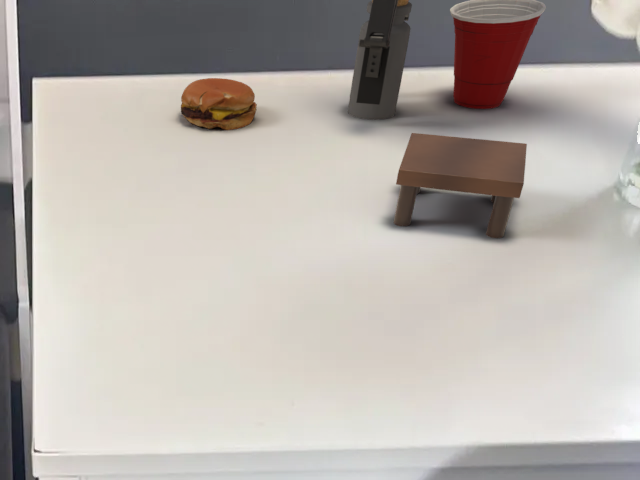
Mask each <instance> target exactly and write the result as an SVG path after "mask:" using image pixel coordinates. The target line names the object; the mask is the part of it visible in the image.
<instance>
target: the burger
mask: <svg viewBox="0 0 640 480" xmlns="http://www.w3.org/2000/svg"><path fill="white" fill-rule="evenodd" d="M255 98H256V95H255V92H254V91H253V89H252V88H251V87H250V86H249V85H248V84H246V83H244V82H242V81H238V80H234V79H229V78H221V77H219V78H218V77H209V78H201V79H196V80H194V81H192V82H190V83H189V84H188V85H187V86H186V87H185V88H184V89H183V92H182V94H181V98H180V101H181V104H180V114H181V115H182V116H183V117H184V118H185V120H187V122H189V124H192V125H195V126H197V127H203V128H205V129H207V130H210V129H215V128H221V129H222V130H225V131H233V130H237V129H242V128H245V127H247V126H249V125H250V124H251V123H252V121H253V120H254V118H255V115H256V112H257V109H258V108H257V107H258V106H257V105H258V103H256V102H255Z"/></svg>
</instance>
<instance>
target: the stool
mask: <svg viewBox="0 0 640 480" xmlns="http://www.w3.org/2000/svg"><path fill="white" fill-rule="evenodd" d="M527 146H528V144H527V143H526V142H525V143H524V142H514V141H513V142H512V141H502V140H491V139H482V138H471V137H462V136H461V137H460V136H450V135H438V134H428V133H419V132H418V133H417V132H411V134H410V138H409V140H408V143H407V145H406V148H405V151H404V153H403V157H402V159H401V161H400V165H399V168H398V172H397V177H396V183H395V184H396V185H397V186H400V187H399V191H398V192H399V193H398V196H397V197H398V198H397V202H396V208H395V211H394V217H393V225H395V226H397V227H410V225H411V223H412V218H413V213H414V209H415V204H416V199H417V195H418V194H420V193H421V189H422V188H423V189H431V190H440V191H441V190H442V191H450V192H458V193H467V194H477V195H486V196H491V198H490V203H492V208H491V212H490V216H489V219H488V224H487V228H486V231H485V235H486V236H487V237H488V238H491V239H502V238H504V236H505V233H506V230H507V229H506V228H507V225H508V221H509V219H510V214H511V210H512V206H513V203H514V199H520V198H521V195H522V191H523V187H524V184H525V175H526V159H527V158H526V157H527Z"/></svg>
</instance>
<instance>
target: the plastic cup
mask: <svg viewBox="0 0 640 480" xmlns="http://www.w3.org/2000/svg"><path fill="white" fill-rule="evenodd" d="M546 9H547V6H546V4H545V3H544V2H542V1H539V0H465V1H463V2H460V3H459V2H458V3H456V4H454V5H453V6H452V7H450V8H449V13H450V15H451V17H452V19H453V25H454V28H453V29H454V54H453V55H454V57H453V76H454V78H453V80H454V81H453V91H452V92H453V93H452V94H453V95H452V96H453V102H454V103H455V104H456V105H458V106H460V107H464V108H468V109H476V110H488V109H489V110H490V109H495V108H498V107H500V106H501V105H502V103H503V101H504V100H505V98H506V95H507V92H508V91H509V88H510V86H511V83H512V81H513V80H514V78H515V77H516V73H517V70H518V68H519V66H520V64H521V60H522V58H523V57H524V54H525V51H526V49H527V46H528V45H529V41H530V39H531V37H532V36H533V33H534V30H535V27H536V26H537V25H538V22H539V19H540V18H541V16H542V14H544V13H545V11H546Z"/></svg>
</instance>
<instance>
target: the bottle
mask: <svg viewBox="0 0 640 480" xmlns="http://www.w3.org/2000/svg"><path fill="white" fill-rule="evenodd" d="M372 3H373V0H370V1H368V2H367V6H366V13H368V14H370V13H371V8H372ZM412 7H413V4H412V2H410V0H398V4H397V9H396V13H395V17H394V22H393V26H392V31H391V35H390V40H389V41H390V45H389V47H390V49H389V55H388V61H387V66H386V72H385V78H384V83H383V89H382V95H381V100H380V104H379V105H378V104H366V103H356V101H357V95H358V89H359V83H360V76H361V70H362V64H363V58H364V52H365V47H359V43H360V39H362V40H364V38H365V37H366V33H367V28H368V23H369V20H367V21H364V22H363V23H362V25H361V26H360V31H359V34H358V35H359V36H358V42H357V49H356V55H355V61H354V68H353V73H352V79H351V86H350V92H349V100H348V108H347V113H348V114H349V115H350V116H351V117H353V118H357V119H363V120H369V121H379V120H380V121H381V120H387V119H390V118H391V119H392V118H393V117H394V116H395V114H396V110H397V105H398V101H399V95H400V89H401V84H402V80H403V79H402V78H403V73H404V68H405V64H406V58H407V52H408V47H409V41H410V36H411V29H412V28H411V26H410V25H409V24H408V22H407V21H404V19H405V15H408V14H409V13H411V12H412ZM409 15H410V14H409ZM373 35H384V34H382V33H375V34H373Z"/></svg>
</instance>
